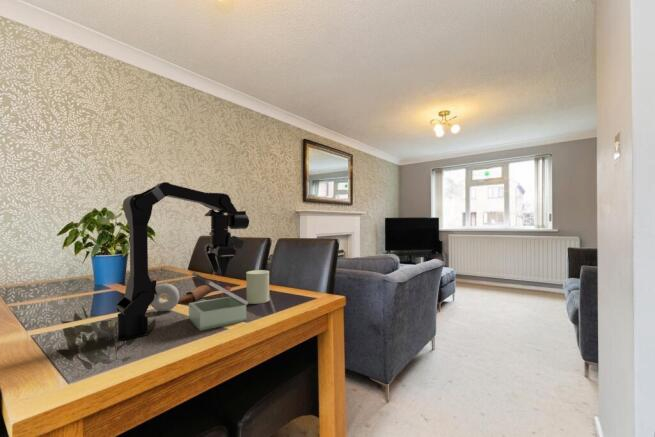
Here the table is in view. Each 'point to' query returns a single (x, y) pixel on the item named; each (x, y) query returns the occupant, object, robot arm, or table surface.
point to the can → (257, 286)
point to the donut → (172, 294)
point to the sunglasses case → (194, 295)
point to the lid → (220, 288)
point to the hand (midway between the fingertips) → (219, 273)
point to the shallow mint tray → (216, 312)
